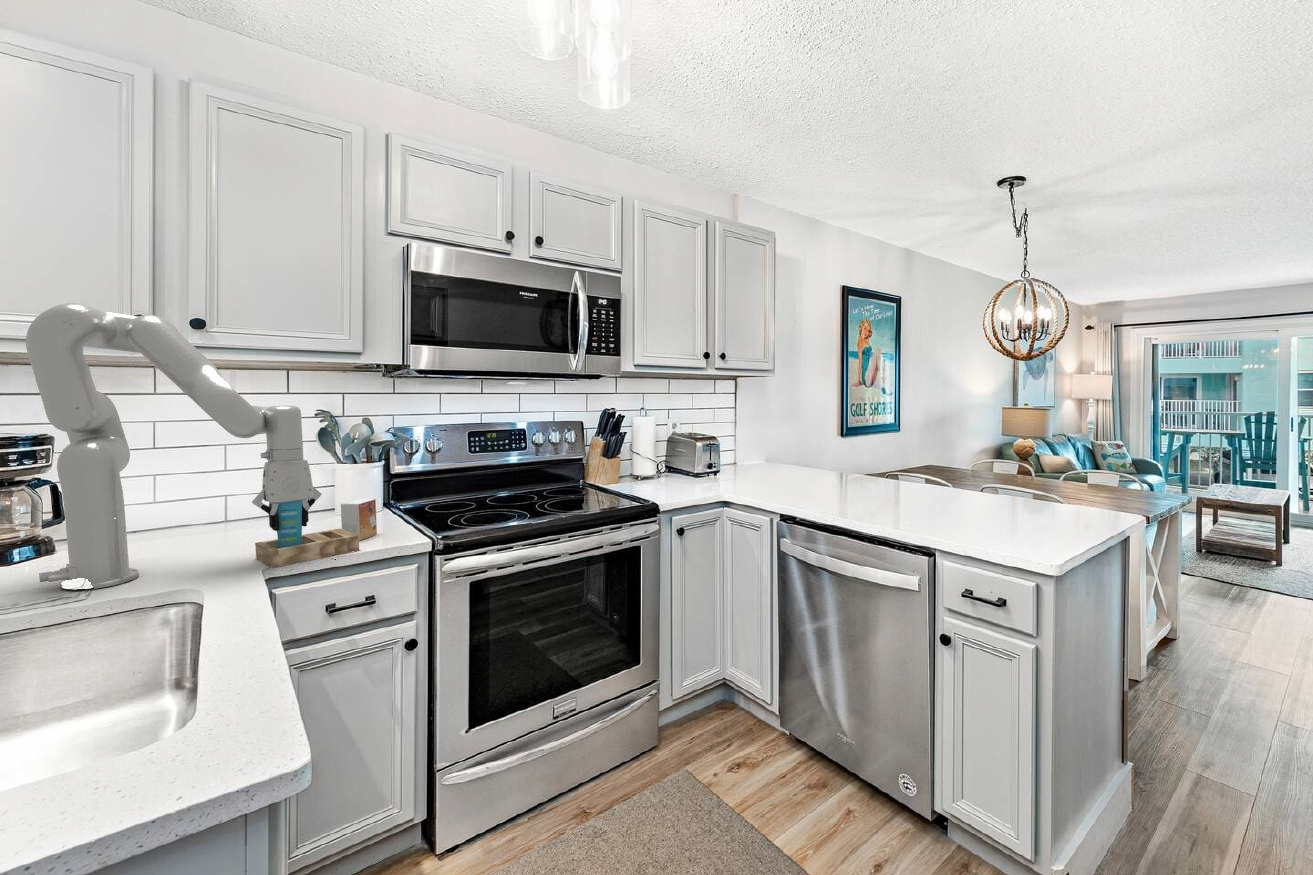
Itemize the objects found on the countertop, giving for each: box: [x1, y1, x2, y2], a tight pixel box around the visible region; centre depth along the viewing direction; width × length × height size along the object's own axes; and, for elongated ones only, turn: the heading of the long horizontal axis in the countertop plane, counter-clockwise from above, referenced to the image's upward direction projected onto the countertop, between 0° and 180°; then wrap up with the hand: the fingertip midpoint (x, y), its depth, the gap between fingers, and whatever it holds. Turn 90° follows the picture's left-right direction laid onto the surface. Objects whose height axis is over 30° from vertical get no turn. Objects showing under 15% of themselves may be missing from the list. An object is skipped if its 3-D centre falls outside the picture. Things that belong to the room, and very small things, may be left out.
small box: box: [340, 498, 378, 542], centre depth 169 cm, size 8×6×10 cm
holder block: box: [254, 528, 360, 569], centre depth 152 cm, size 20×12×4 cm, turn 139°
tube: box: [276, 500, 303, 548], centre depth 149 cm, size 7×5×19 cm, turn 123°
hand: (289, 527), depth 149 cm, fingers closed on tube, 5 cm apart
